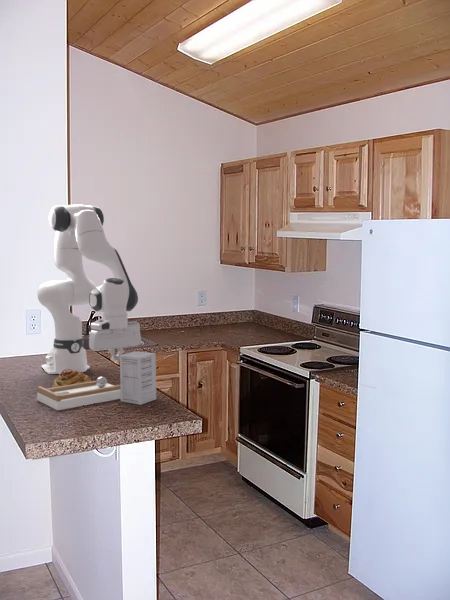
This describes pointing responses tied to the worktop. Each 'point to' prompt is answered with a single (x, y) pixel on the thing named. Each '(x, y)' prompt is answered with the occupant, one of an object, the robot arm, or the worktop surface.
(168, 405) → the worktop surface
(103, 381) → the ball
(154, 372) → the supplement box
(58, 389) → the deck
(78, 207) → the robot arm
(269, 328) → the worktop surface
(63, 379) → the pastry
